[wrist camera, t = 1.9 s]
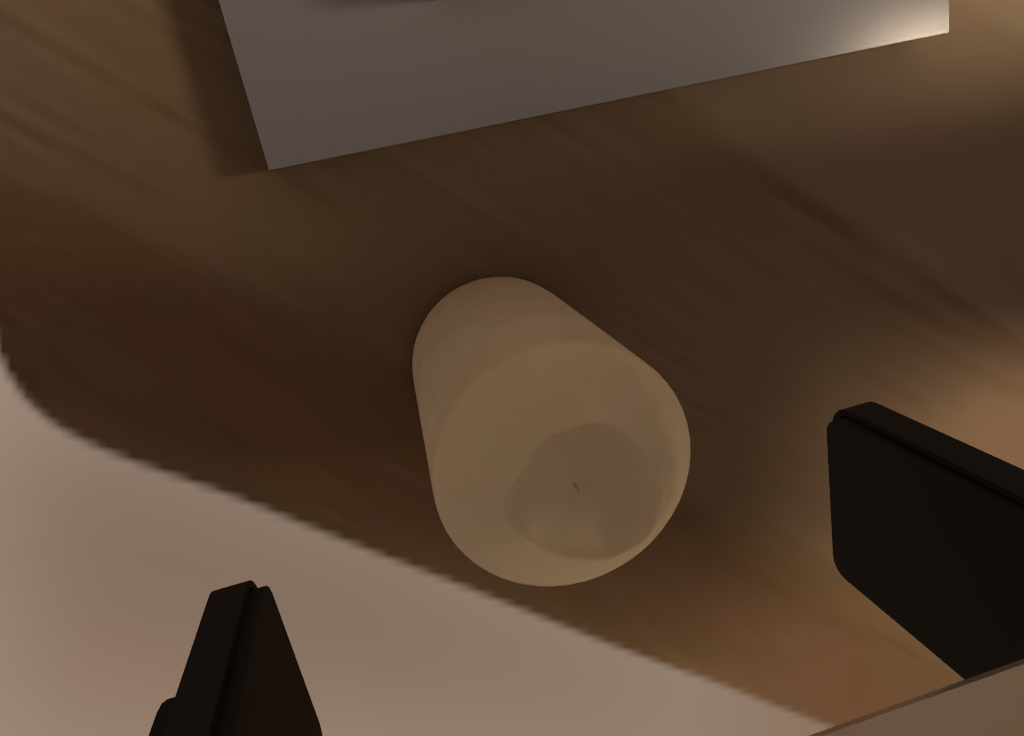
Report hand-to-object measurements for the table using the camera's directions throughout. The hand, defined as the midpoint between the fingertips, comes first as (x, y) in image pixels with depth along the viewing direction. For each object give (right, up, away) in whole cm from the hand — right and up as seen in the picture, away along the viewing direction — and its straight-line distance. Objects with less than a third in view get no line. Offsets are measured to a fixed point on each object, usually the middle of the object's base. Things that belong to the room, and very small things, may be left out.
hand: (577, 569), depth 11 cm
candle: (-2, +4, +11) cm, 12 cm away
